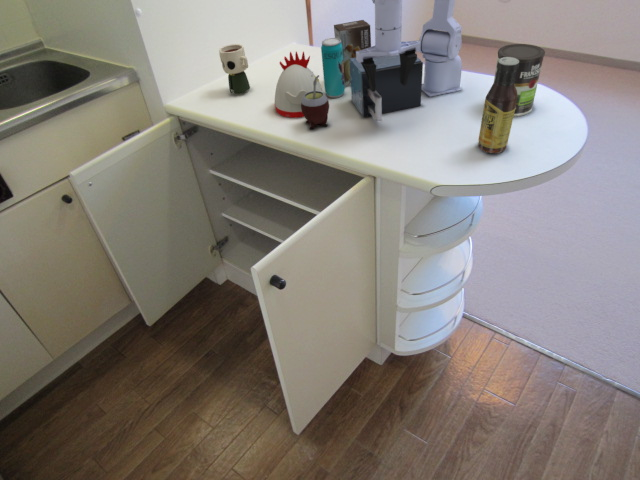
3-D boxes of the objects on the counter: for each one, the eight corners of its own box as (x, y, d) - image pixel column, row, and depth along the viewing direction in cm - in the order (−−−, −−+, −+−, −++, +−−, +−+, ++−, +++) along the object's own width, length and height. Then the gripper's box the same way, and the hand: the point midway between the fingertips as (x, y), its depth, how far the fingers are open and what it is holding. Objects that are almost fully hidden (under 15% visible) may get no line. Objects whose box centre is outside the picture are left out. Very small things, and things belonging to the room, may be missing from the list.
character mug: (219, 93, 142) (209, 49, 134) (235, 84, 146) (226, 41, 138) (245, 99, 137) (235, 55, 128) (261, 90, 141) (253, 46, 132)
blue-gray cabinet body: (419, 104, 124) (421, 60, 116) (362, 116, 122) (360, 71, 114) (405, 90, 131) (406, 48, 124) (351, 101, 129) (349, 58, 122)
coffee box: (366, 74, 143) (364, 18, 132) (372, 81, 138) (371, 25, 127) (337, 79, 142) (333, 24, 131) (343, 87, 137) (339, 30, 126)
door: (431, 116, 118) (434, 72, 110) (372, 129, 116) (371, 84, 108) (419, 104, 124) (421, 61, 116) (362, 116, 122) (361, 72, 114)
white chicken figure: (323, 116, 124) (318, 59, 114) (273, 119, 125) (263, 64, 116) (325, 94, 135) (320, 40, 125) (278, 97, 136) (270, 44, 126)
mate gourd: (312, 116, 125) (306, 60, 115) (338, 121, 121) (334, 63, 111) (297, 129, 120) (289, 71, 110) (324, 134, 117) (318, 75, 107)
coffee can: (541, 108, 116) (555, 51, 107) (510, 120, 113) (521, 62, 104) (510, 95, 123) (521, 40, 114) (480, 106, 120) (488, 50, 111)
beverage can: (343, 99, 131) (340, 44, 121) (323, 99, 132) (318, 45, 122) (346, 90, 135) (343, 37, 125) (327, 90, 136) (322, 37, 126)
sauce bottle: (473, 142, 107) (485, 55, 94) (500, 139, 107) (516, 51, 94) (483, 157, 102) (497, 67, 89) (511, 153, 102) (530, 63, 89)
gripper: (362, 37, 97) (363, 99, 106) (427, 25, 99) (423, 87, 108) (352, 28, 102) (354, 87, 111) (414, 17, 104) (411, 76, 113)
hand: (388, 86), depth 110 cm, fingers open, 7 cm apart
